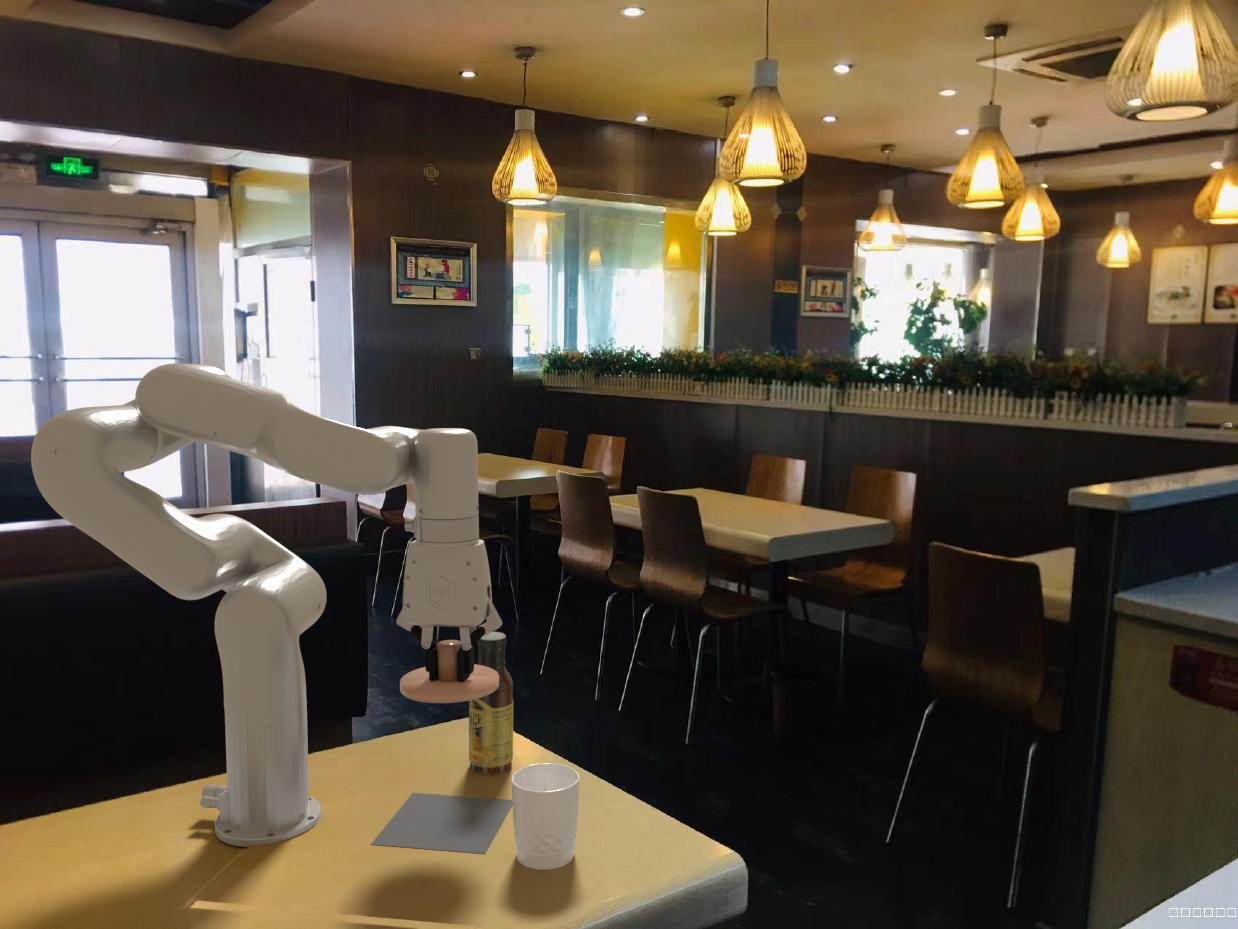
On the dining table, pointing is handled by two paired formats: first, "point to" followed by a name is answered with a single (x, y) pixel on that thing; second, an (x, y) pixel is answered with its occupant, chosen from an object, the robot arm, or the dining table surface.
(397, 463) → the robot arm
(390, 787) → the dining table surface
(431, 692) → the lid
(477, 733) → the sauce bottle
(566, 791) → the white cup
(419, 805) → the mat
